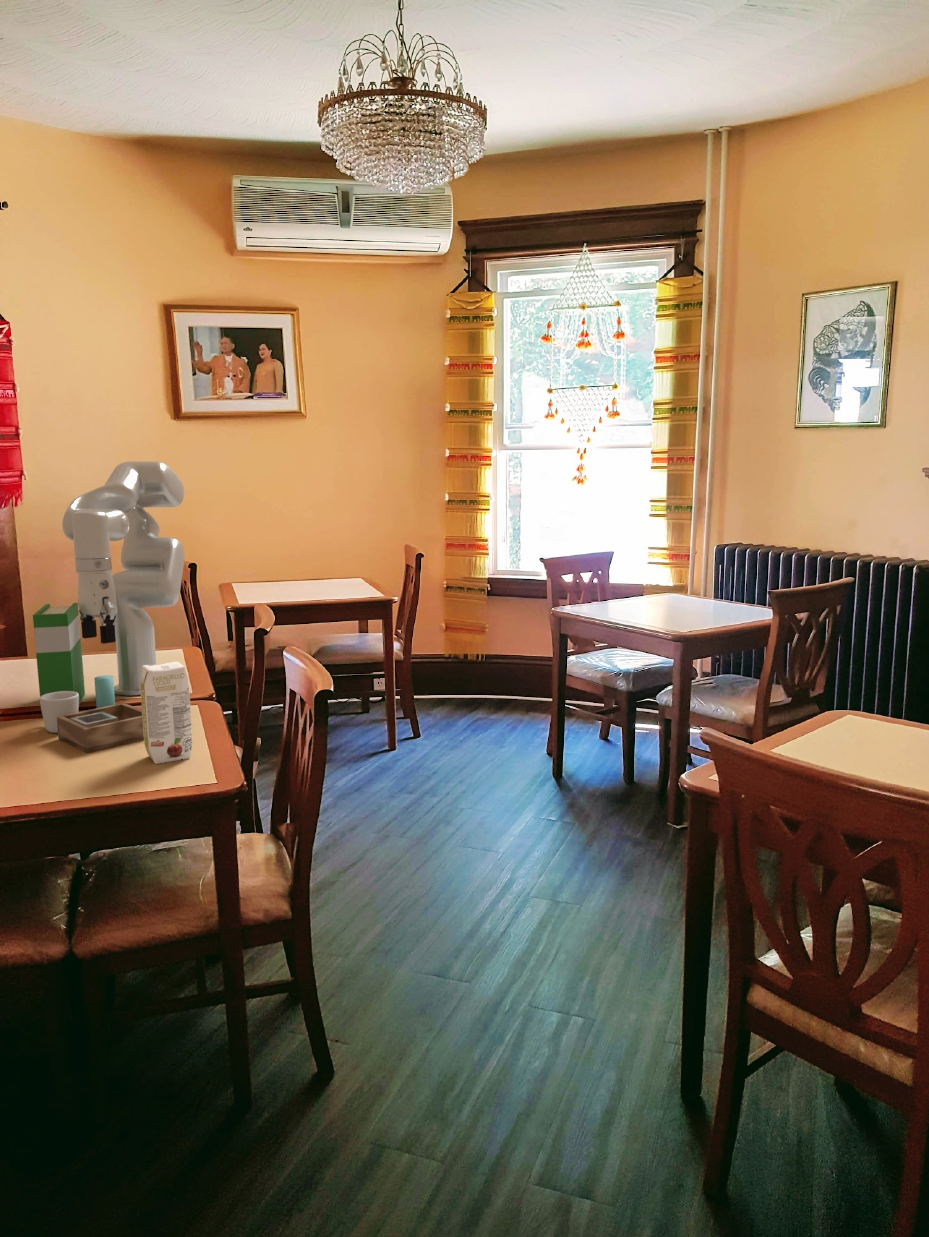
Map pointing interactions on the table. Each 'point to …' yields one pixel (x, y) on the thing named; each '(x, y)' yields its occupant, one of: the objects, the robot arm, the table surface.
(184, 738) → the juice carton
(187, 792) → the table surface
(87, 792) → the table surface
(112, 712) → the box
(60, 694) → the cup
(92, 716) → the socket
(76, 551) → the robot arm
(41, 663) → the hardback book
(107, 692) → the plug
